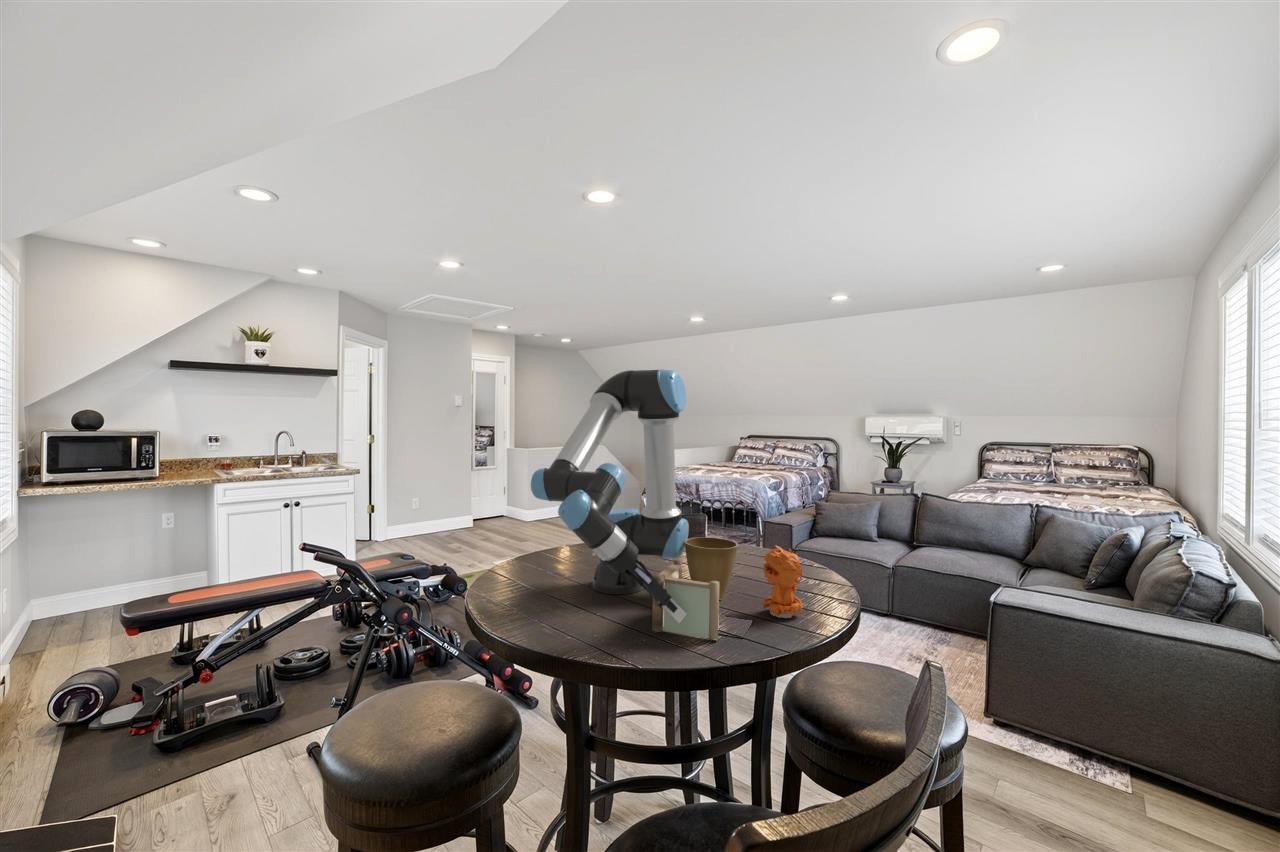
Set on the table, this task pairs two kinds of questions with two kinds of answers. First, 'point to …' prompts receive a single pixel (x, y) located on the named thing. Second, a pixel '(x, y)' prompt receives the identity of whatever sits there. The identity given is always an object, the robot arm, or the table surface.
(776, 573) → the orange figurine
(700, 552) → the plant pot
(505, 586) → the table surface
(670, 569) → the fence fixed
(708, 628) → the fence gate
